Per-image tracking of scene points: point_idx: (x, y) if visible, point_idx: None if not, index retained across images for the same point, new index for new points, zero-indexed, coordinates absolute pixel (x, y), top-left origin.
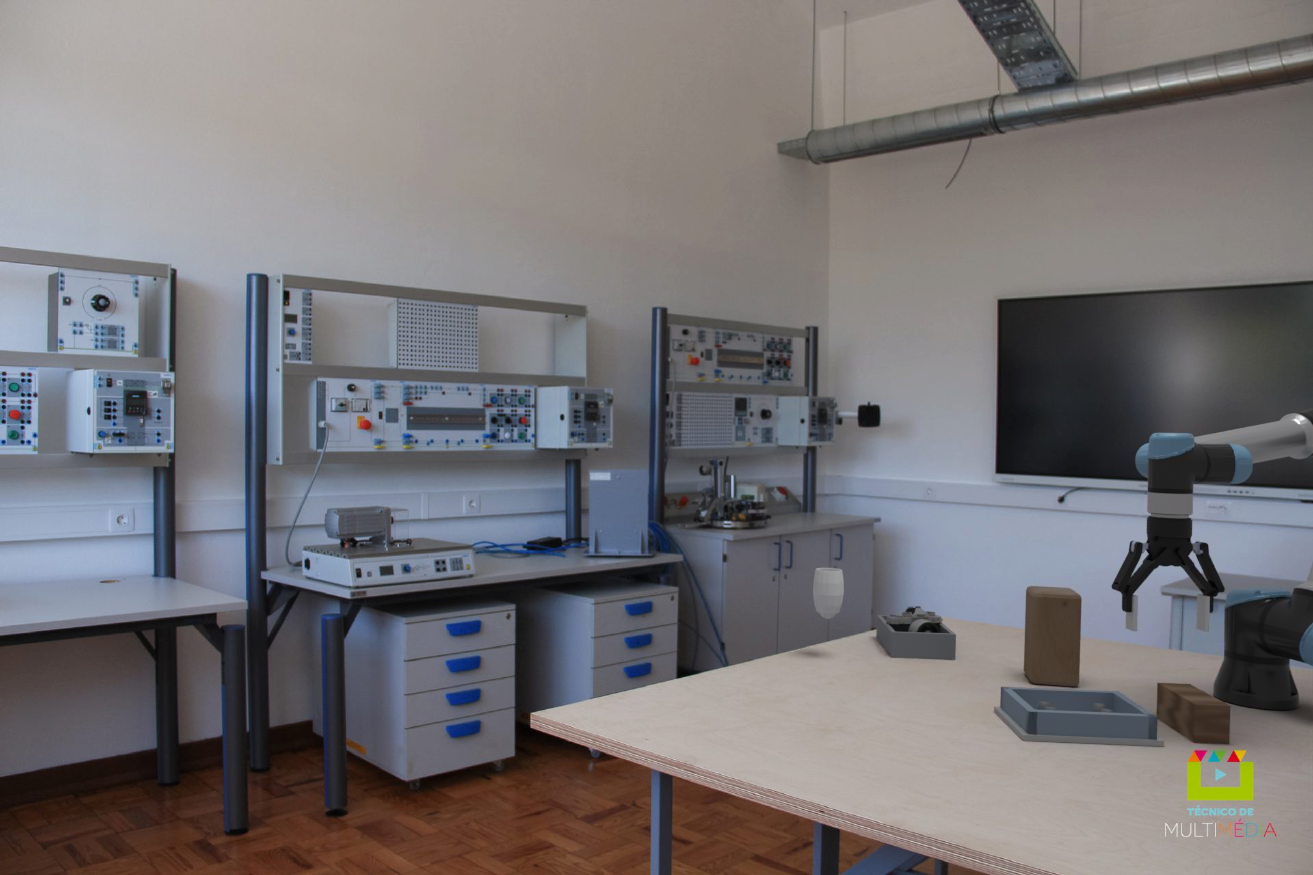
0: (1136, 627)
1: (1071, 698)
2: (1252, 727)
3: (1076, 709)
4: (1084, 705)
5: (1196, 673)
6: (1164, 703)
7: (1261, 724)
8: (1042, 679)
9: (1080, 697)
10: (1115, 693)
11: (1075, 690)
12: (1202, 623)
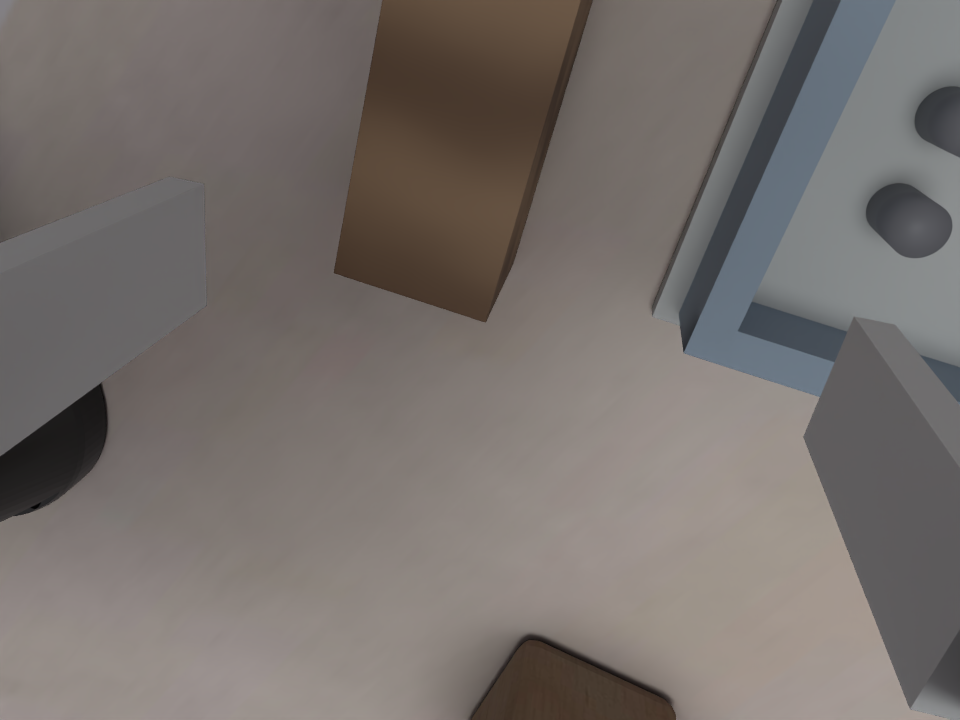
0: (870, 333)
1: None
2: (192, 77)
3: None
4: None
5: (20, 649)
6: (521, 219)
7: (131, 111)
8: (645, 700)
9: None
10: (734, 319)
11: None
12: (170, 242)
